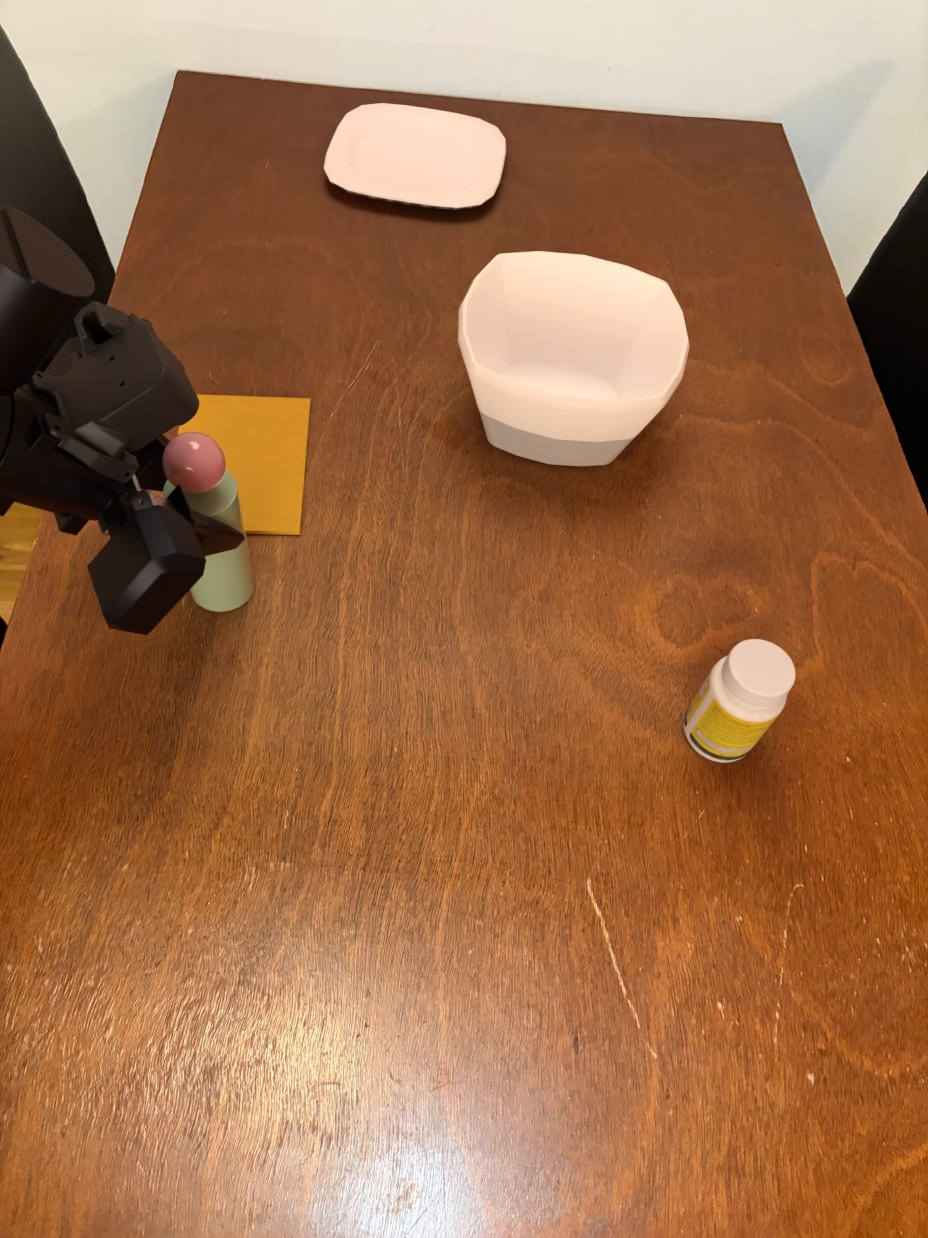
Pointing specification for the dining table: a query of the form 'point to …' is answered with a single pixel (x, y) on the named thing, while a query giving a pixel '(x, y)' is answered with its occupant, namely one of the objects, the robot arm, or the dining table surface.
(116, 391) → the robot arm
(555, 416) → the bowl
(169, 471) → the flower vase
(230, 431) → the cloth
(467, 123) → the plate
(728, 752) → the supplement bottle
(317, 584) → the dining table surface
